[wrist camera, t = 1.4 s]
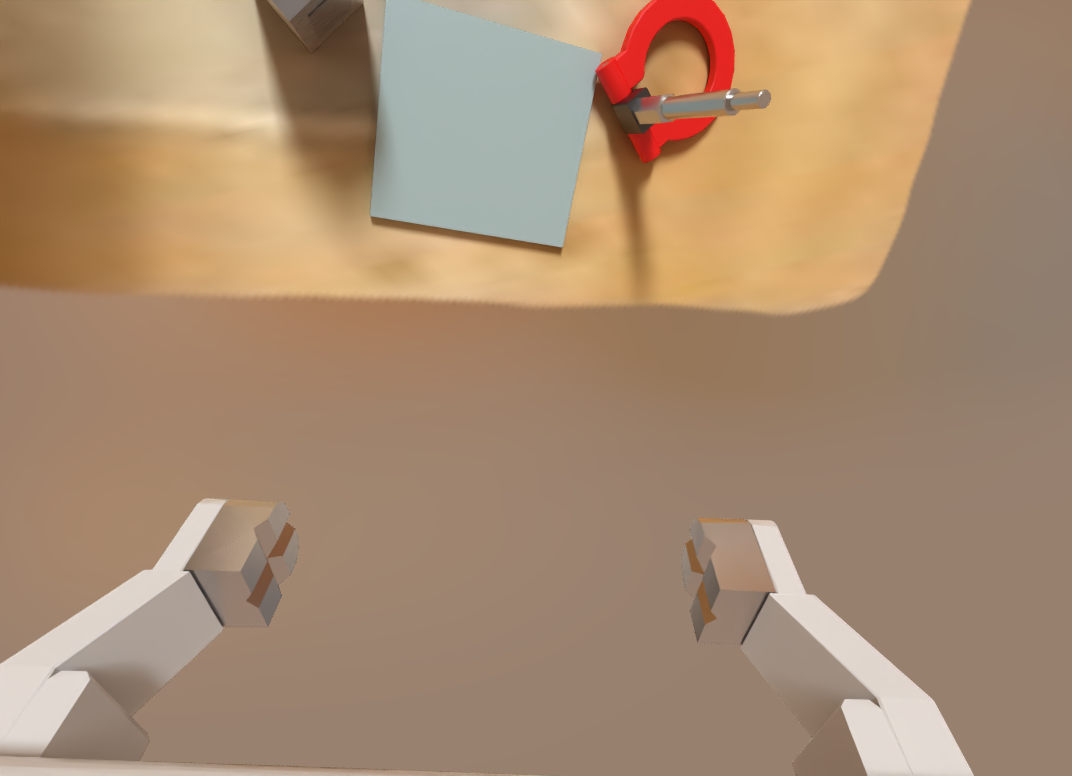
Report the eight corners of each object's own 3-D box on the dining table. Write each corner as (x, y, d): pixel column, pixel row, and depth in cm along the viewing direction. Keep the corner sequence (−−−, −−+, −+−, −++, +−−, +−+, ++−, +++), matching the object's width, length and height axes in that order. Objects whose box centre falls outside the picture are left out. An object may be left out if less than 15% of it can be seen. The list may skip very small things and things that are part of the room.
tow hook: (692, -38, 33) (581, 59, 33) (881, -126, 23) (717, 17, 22) (740, 88, 38) (642, 174, 38) (917, 66, 27) (780, 187, 27)
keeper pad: (370, 214, 34) (370, 215, 34) (386, -7, 30) (386, -10, 30) (560, 246, 38) (562, 247, 38) (598, 55, 34) (601, 53, 34)
